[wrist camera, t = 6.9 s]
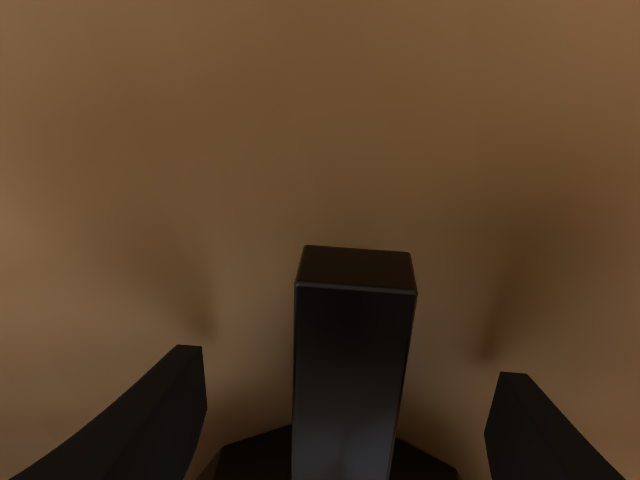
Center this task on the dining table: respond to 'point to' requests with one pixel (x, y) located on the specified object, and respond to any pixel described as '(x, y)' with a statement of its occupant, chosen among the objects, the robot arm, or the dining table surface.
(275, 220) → the dining table surface
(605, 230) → the dining table surface
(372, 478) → the pan
